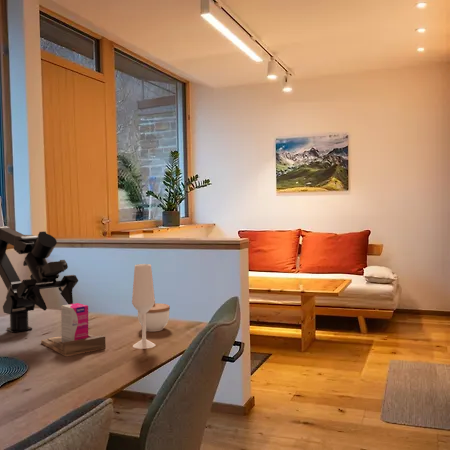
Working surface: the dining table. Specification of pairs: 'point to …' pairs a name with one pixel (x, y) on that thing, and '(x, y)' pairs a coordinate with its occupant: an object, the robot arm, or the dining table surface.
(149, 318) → the lidded jar
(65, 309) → the supplement box
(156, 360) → the dining table surface
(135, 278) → the champagne flute
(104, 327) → the dining table surface
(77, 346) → the click board
